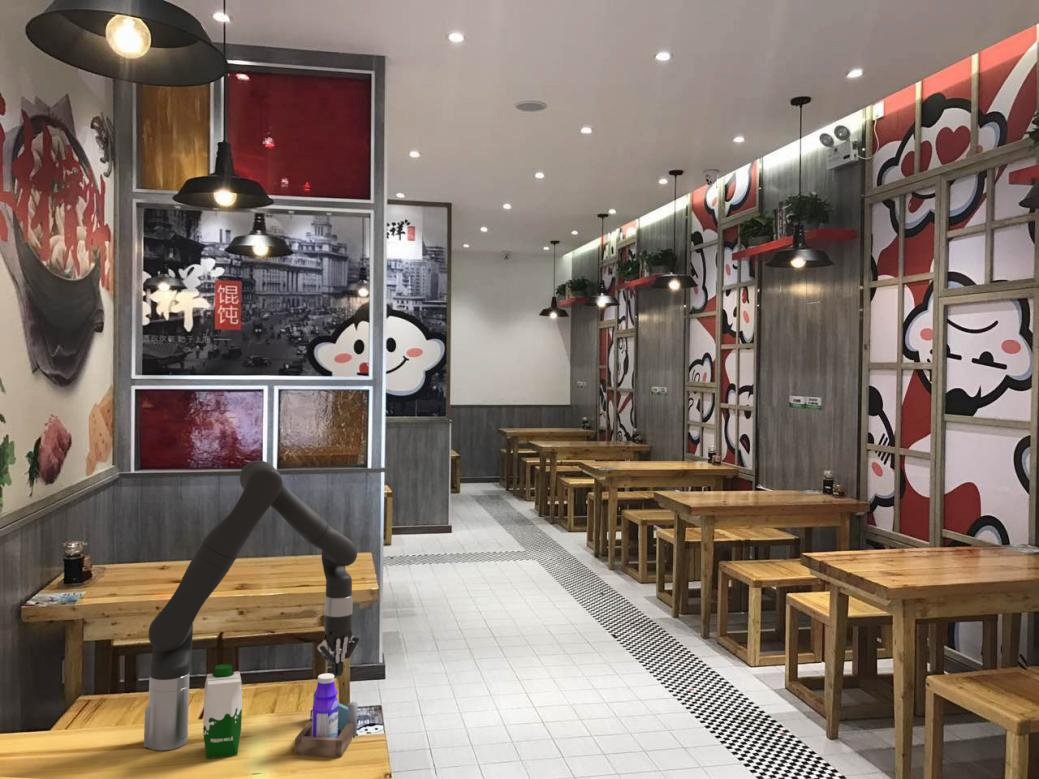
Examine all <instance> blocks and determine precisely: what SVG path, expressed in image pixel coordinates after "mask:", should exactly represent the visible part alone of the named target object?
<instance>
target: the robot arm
mask: <svg viewBox="0 0 1039 779" xmlns="http://www.w3.org/2000/svg"><path fill="white" fill-rule="evenodd" d="M239 483H240V485H241V486H240V487H241V488H242V493H241V495H240V497H239V499H238V500H237V502H236V504H235V505H234V507H233V509H231V511H230V513H229V514H228V515H227V516H226V517H225V518H224V519H223V520H221V521H220V522H219V523H217V525H215V526H214V527H213V528H212V529H211V530H210V531H209V533H207V535H206V536H205V537H204V539H203V540H202V542H201V544H200V545H199V547H198V549H197V550H196V551H195V553H194V555H193V557H192V559H191V561H190V562H189V564H188V566H187V567H186V570H185V572H184V574H183V576H182V578H181V580H180V582H179V585H178V586H177V588H176V590H175V591H174V593H173V595H172V596H171V598H170V599H169V600H168V601H167V603H166V604H165V606H164V607H163V609H161V611H160V612H159V613H158V614H157V615H156V616H155V618H154V619H153V620H152V621H151V623H150V625H149V628H148V641H149V642H150V643H149V644H151V646H152V648H153V649H152V655H151V660H150V665H149V682H148V683H149V684H148V705H147V706H146V707H145V708H144V709H145V710H144V726H143V728H144V731H143V732H144V733H143V748H147V749H149V750H153V751H170V750H174V749H178V748H181V747H182V746H184V745H185V744H187V743H188V739H189V706H190V704H189V700H190V674H191V671H190V670H191V669H190V667H191V661H192V653H193V636H194V621H195V619H196V618H197V615H198V613H199V612H200V610H201V608H203V607H202V606H203V605H204V603H205V602H206V601H207V599H208V598H209V597H210V596H211V594H212V593H214V591H215V590H216V588H217V587H218V586H219V584H220V583H222V581H223V579H224V578H225V576H227V574H228V572H229V571H230V569H231V568H232V566H233V564H234V563H235V561H236V560H237V558H238V557H239V555H240V553H241V551H242V549H243V548H244V546H245V544H246V542H247V541H248V540H249V538H250V536H251V534H252V533H253V531H254V529H255V528H256V526H257V525H258V523H259V522H260V520H261V519H262V517H263V516H264V514H265V513H267V511H268V509H269V508H270V507H271V508H273V510H275V511H276V512H277V513H278V514H279V515H280V516H281V517H282V518H283V520H285V521H286V522H287V523H288V524H289V525H290V526H291V527H292V529H294V531H296V533H298V534H299V536H301V537H302V538H303V539H304V540H305V541H307V542H308V543H309V544H310V545H311V546H313V547H314V548H317V549H320V551H321V562H322V563H321V564H322V568H323V572H324V578H325V600H324V616H323V617H324V623H323V624H324V625H323V629H324V636H323V641H322V642H321V643H319V644H318V643H317V644H316V646H315V648H316V649H317V651H318V652H319V654H320V655H321V656H322V658H323V659H324V660H325V661H328V662H330V663H331V674H333V675H334V677H336V678H338V677H340V676H342V675H343V673H344V662H345V660H346V659H349V658H351V656H352V654H353V652H354V650H355V649H356V647H357V645H358V643H359V641H360V638H359V637H356V636H354V635H353V631H352V628H353V603H354V602H353V597H352V596H353V591H352V590H353V589H352V588H353V580H352V576H351V575H350V573H349V572H347V570H346V567H349V566H351V565H352V564H354V563H355V561H356V560H357V558H358V549H357V546H356V545H355V543H354V542H353V541H352V540H351V539H349V538H348V537H347V536H345V535H344V534H342V533H341V532H339V531H338V530H336V529H335V528H333V527H332V526H331V525H330V524H329V523H328V522H327V521H326V520H325V519H324V518H323V517H322V516H320V514H318V512H316V511H315V510H314V509H312V507H310V506H309V505H308V504H307V503H305V502H304V501H303V500H302V499H301V498H299V497H298V496H297V495H296V494H295V493H294V492H292V490H290V489H289V488H288V487H287V486H286V484H285V483H284V481H283V477H282V475H281V473H280V472H279V471H278V470H277V469H276V468H275V467H274V466H273V465H272V464H271V463H268V462H267V461H264V460H259V459H257V460H252V461H249V462H247V463H245V465H244V466H243V467H242V468H241V470H240V473H239ZM328 649H329V650H328Z"/></svg>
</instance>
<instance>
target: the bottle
mask: <svg viewBox="0 0 1039 779" xmlns="http://www.w3.org/2000/svg"><path fill="white" fill-rule="evenodd" d="M337 694H338V690H337V688H336V686H335V676H334V675H333V674H332V673H328V672H327V673H322V674H319V675H318V676H317V686H316V689H315V691H314V693H313V697H314V696H315V700H314V703H313V702H312V703H313V704H312V709H311V711H312V718H311V721H312V737H330V738H338V736H339V735H338V734H339V733H338V732H339V729H338V703H339V700H338V698H337Z"/></svg>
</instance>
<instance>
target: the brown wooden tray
mask: <svg viewBox="0 0 1039 779" xmlns="http://www.w3.org/2000/svg"><path fill="white" fill-rule="evenodd" d="M352 738H353V739H354V737H353V723H347V724H346V726H345V727H344V729H343V730H341V732H340V733H339V735H338V738H330V737H312V720H311V721H310V720H309V721H307V723H306V725H305V726H304V727H303V728H302V729H301V731H300V732H299V733H298V734H297V735H296V737H295V738H294V756H305V757H306V756H307V757H309V756H310V757H325V758H326V757H329V758H342V757H343V755H344V754H345V752H346V751H347V749H348V747H349V746H350V744H351V743H352V741H353V740H352ZM351 740H352V741H351ZM350 742H351V743H350ZM348 745H349V746H348Z"/></svg>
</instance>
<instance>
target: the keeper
mask: <svg viewBox="0 0 1039 779" xmlns="http://www.w3.org/2000/svg"><path fill="white" fill-rule="evenodd" d="M312 697H313V702H312V703H314V700H315V696H314V695H313V696H312ZM347 723H353V738H354V737H356V736H357V733H358V732H357V731H358V730H357V728H358V702H354V701H352V702H351V701H350V702H348V703H347V705H344V704H343V703H340V702H338V730H339V731H342V730H343V729H344V727H345V726H346V724H347Z"/></svg>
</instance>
